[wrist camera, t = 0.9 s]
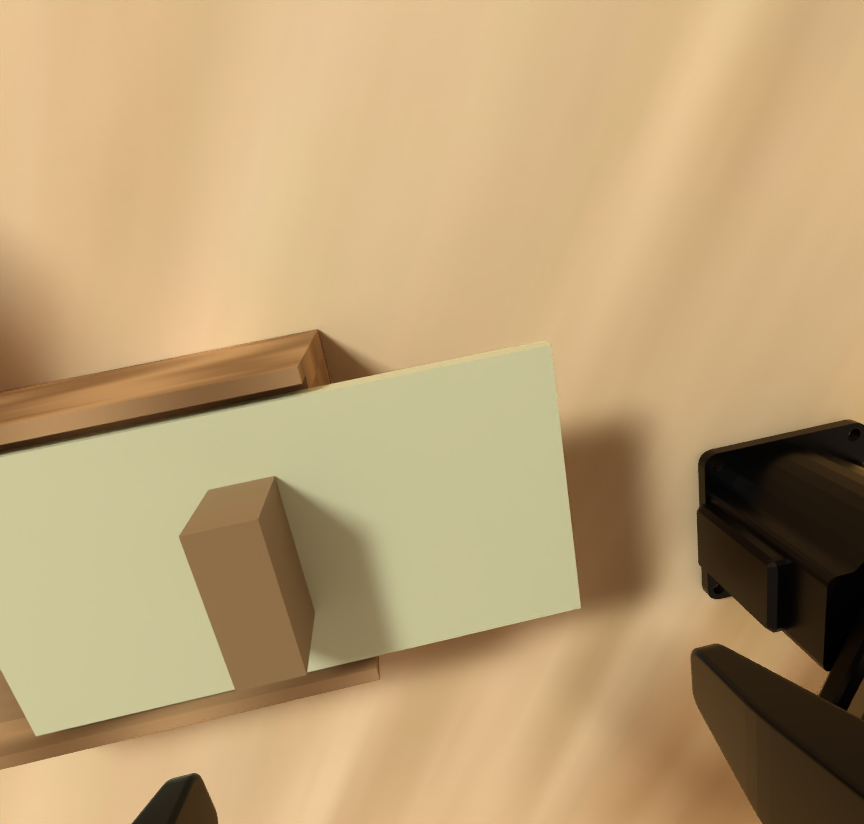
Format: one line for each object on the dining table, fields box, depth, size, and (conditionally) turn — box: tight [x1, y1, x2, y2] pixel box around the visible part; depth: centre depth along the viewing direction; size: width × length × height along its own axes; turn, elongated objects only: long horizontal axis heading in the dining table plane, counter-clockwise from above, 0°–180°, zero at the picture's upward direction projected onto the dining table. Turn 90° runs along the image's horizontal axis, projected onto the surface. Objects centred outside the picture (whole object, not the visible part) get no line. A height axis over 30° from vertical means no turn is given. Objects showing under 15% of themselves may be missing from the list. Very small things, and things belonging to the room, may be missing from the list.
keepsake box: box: [0, 329, 380, 770], centre depth 16 cm, size 16×9×6 cm, turn 101°
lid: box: [0, 341, 581, 736], centre depth 13 cm, size 15×8×3 cm, turn 101°
